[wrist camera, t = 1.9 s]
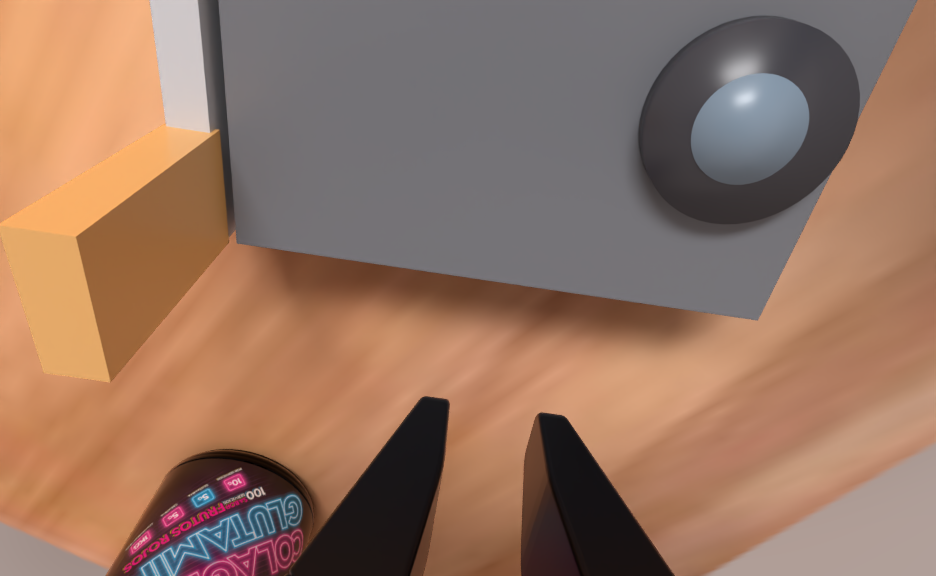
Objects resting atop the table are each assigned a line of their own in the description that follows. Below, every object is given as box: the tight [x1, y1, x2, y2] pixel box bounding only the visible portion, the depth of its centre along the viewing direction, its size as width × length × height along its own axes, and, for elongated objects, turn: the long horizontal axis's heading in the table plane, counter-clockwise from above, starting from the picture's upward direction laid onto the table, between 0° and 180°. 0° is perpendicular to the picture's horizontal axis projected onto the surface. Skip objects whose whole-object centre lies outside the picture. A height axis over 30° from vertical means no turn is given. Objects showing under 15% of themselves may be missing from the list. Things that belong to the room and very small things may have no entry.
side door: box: [0, 0, 236, 382], centre depth 12 cm, size 1×11×9 cm, turn 172°
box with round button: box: [218, 0, 917, 320], centre depth 14 cm, size 14×10×4 cm
